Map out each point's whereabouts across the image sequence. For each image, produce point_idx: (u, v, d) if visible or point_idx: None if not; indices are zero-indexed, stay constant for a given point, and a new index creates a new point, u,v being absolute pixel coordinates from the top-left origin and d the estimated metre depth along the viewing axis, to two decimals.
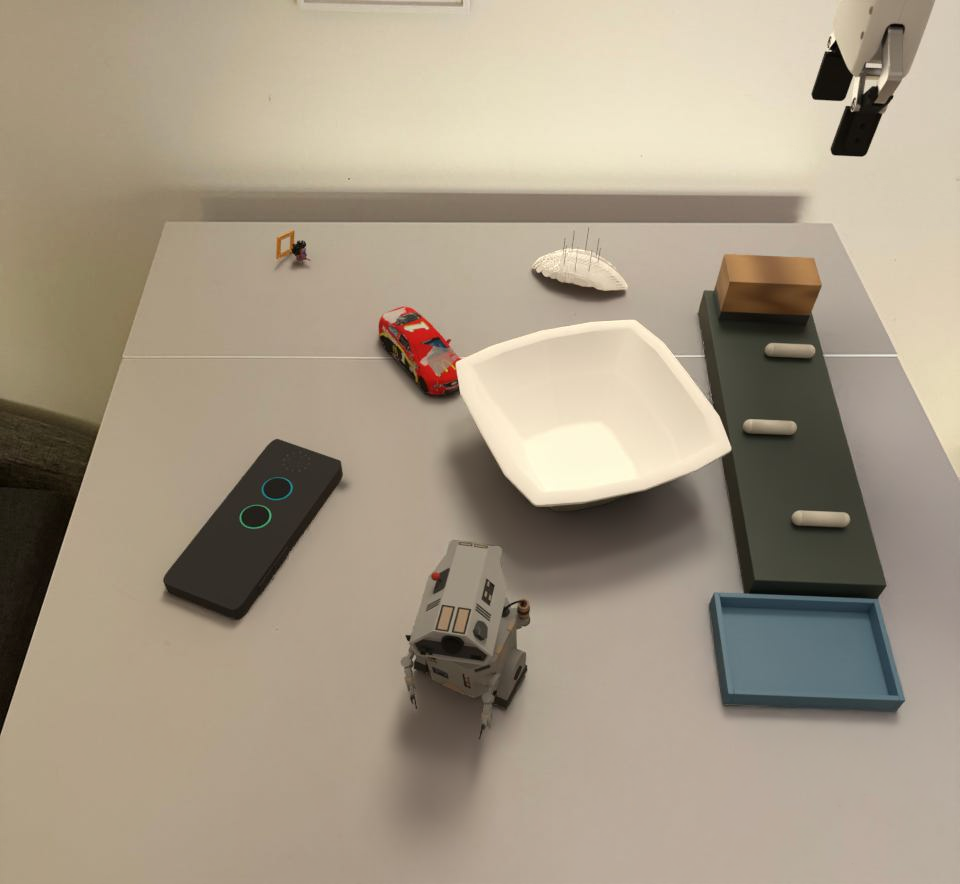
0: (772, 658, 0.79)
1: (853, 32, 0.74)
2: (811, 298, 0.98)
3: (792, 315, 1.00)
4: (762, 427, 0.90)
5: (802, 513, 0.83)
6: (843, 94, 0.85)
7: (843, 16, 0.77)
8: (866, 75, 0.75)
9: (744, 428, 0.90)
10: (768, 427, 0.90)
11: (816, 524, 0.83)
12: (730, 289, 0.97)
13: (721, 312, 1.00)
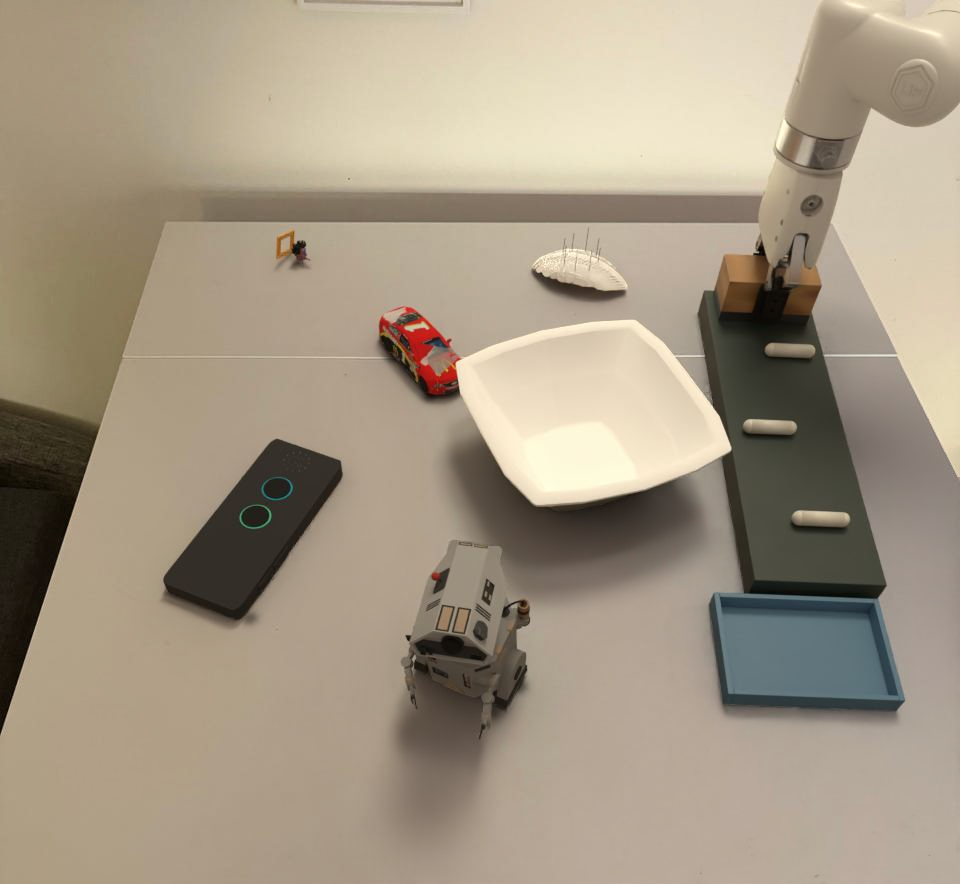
0: (772, 658, 0.79)
1: (770, 233, 0.92)
2: (811, 298, 0.98)
3: (792, 315, 1.00)
4: (762, 427, 0.90)
5: (802, 513, 0.83)
6: None
7: (764, 216, 0.94)
8: None
9: (744, 428, 0.90)
10: (768, 427, 0.90)
11: (816, 524, 0.83)
12: (730, 289, 0.97)
13: (721, 312, 1.00)
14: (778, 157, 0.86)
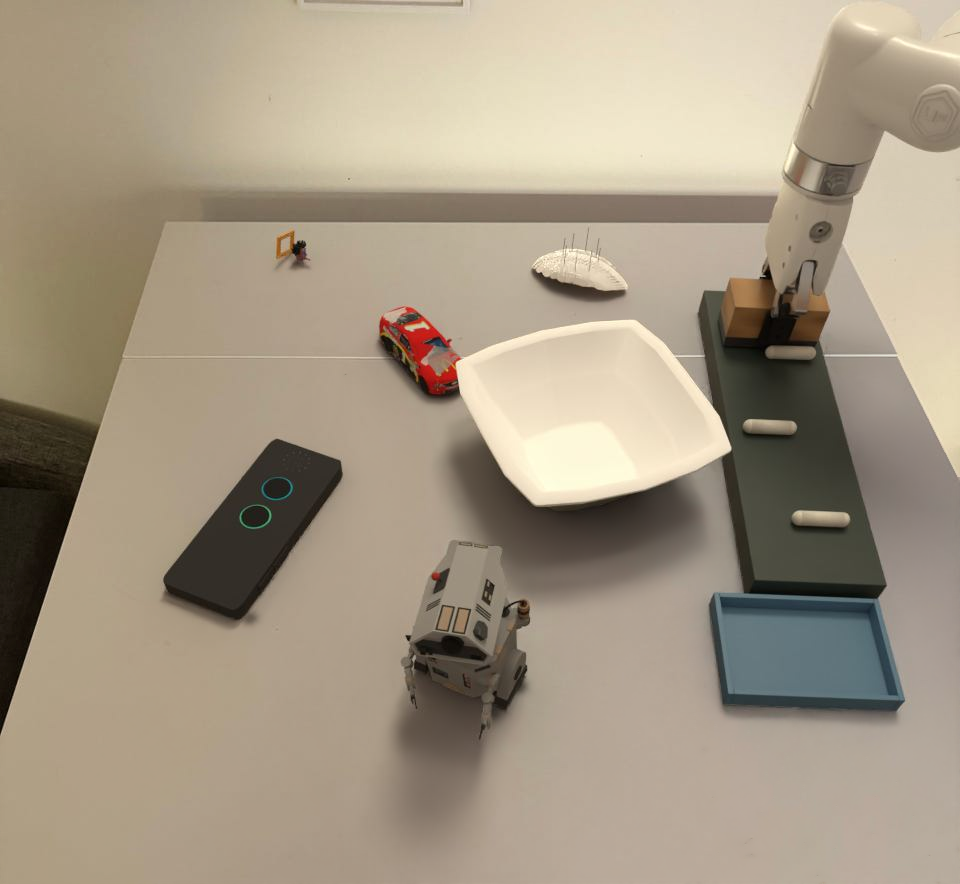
0: (772, 658, 0.79)
1: (777, 259, 0.89)
2: (819, 324, 0.95)
3: (799, 341, 0.97)
4: (762, 427, 0.90)
5: (802, 513, 0.83)
6: None
7: (771, 240, 0.91)
8: None
9: (744, 428, 0.90)
10: (768, 427, 0.90)
11: (816, 524, 0.83)
12: (736, 314, 0.94)
13: (726, 337, 0.97)
14: (787, 182, 0.83)
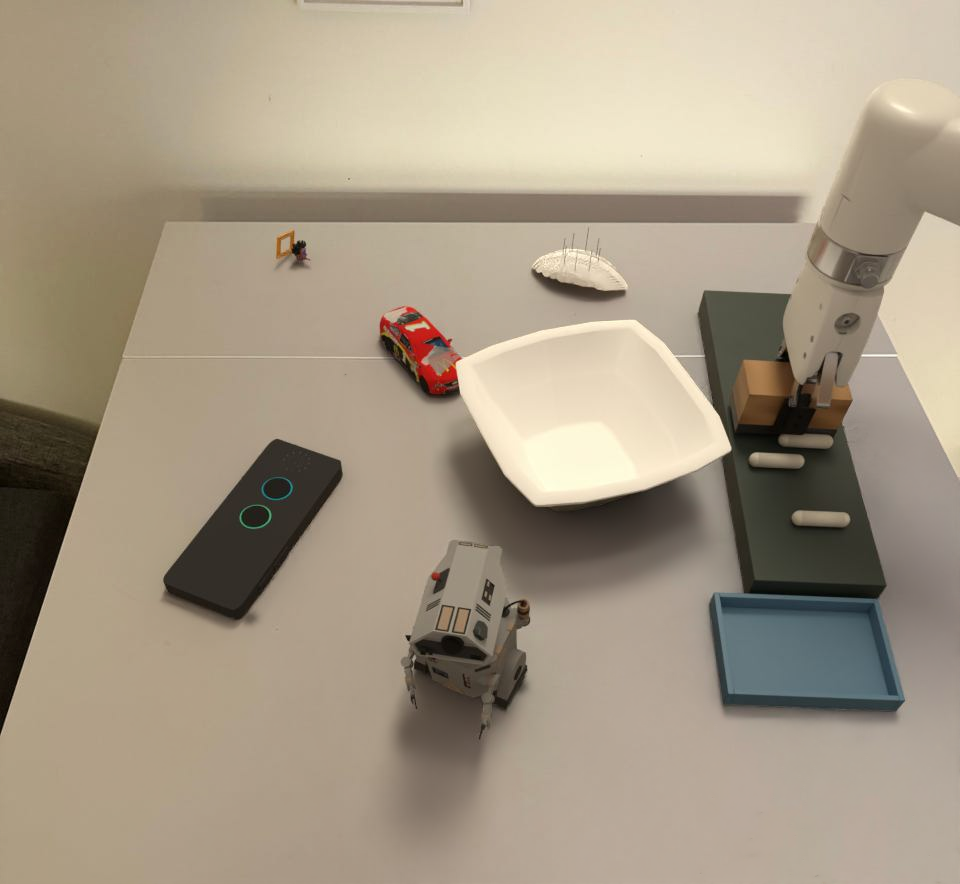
0: (772, 658, 0.79)
1: (797, 347, 0.81)
2: (840, 412, 0.87)
3: (818, 429, 0.89)
4: (768, 463, 0.87)
5: (802, 513, 0.83)
6: None
7: (790, 324, 0.83)
8: (804, 383, 0.83)
9: (750, 462, 0.88)
10: (774, 463, 0.87)
11: (816, 524, 0.83)
12: (750, 401, 0.86)
13: (738, 424, 0.89)
14: (810, 268, 0.76)
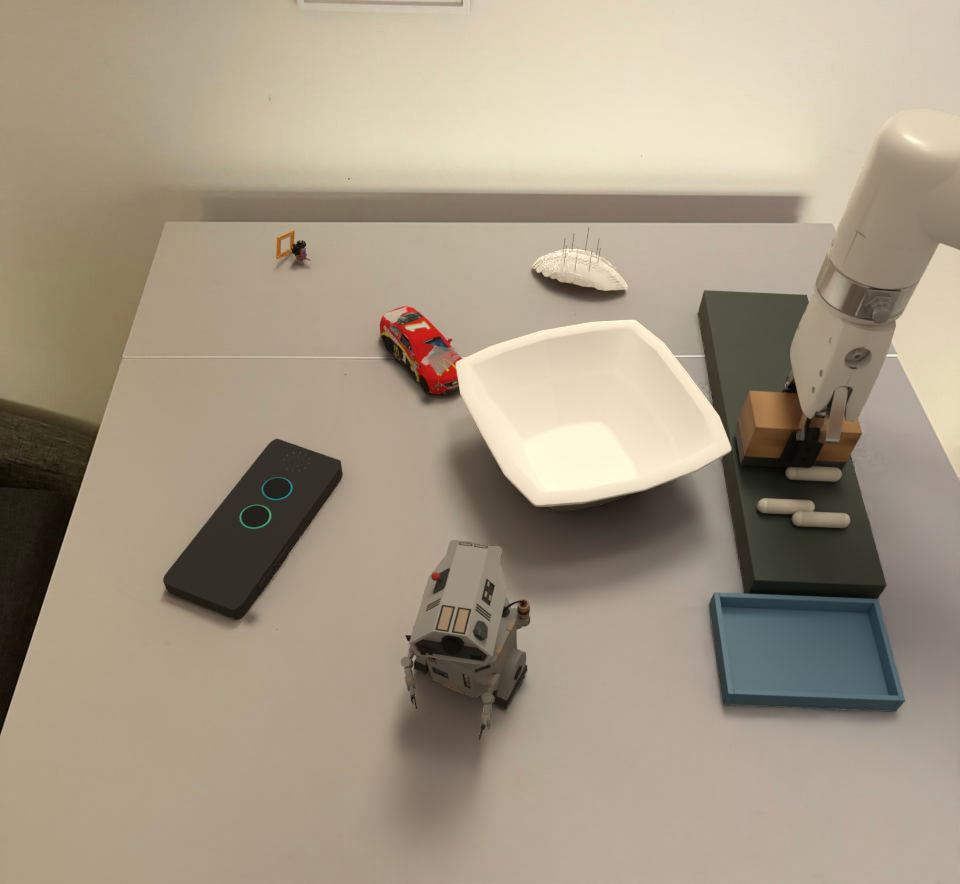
0: (772, 658, 0.79)
1: (806, 380, 0.79)
2: (849, 445, 0.85)
3: (826, 461, 0.87)
4: None
5: (802, 514, 0.83)
6: None
7: (798, 355, 0.81)
8: None
9: (757, 504, 0.85)
10: None
11: (816, 525, 0.83)
12: (756, 434, 0.84)
13: (744, 457, 0.86)
14: (820, 301, 0.73)
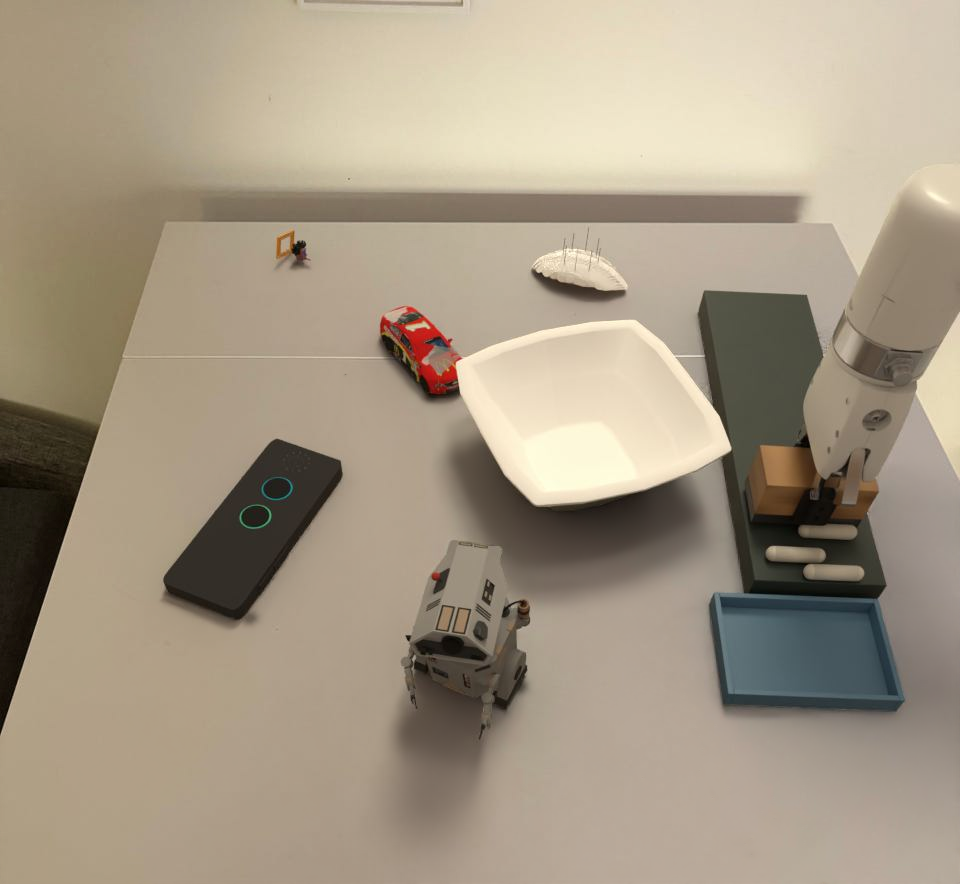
0: (772, 658, 0.79)
1: (820, 439, 0.75)
2: (865, 503, 0.81)
3: (840, 519, 0.83)
4: (785, 547, 0.81)
5: None
6: None
7: (812, 412, 0.77)
8: None
9: (767, 550, 0.81)
10: (792, 547, 0.81)
11: None
12: (767, 492, 0.80)
13: (755, 514, 0.82)
14: (836, 360, 0.69)
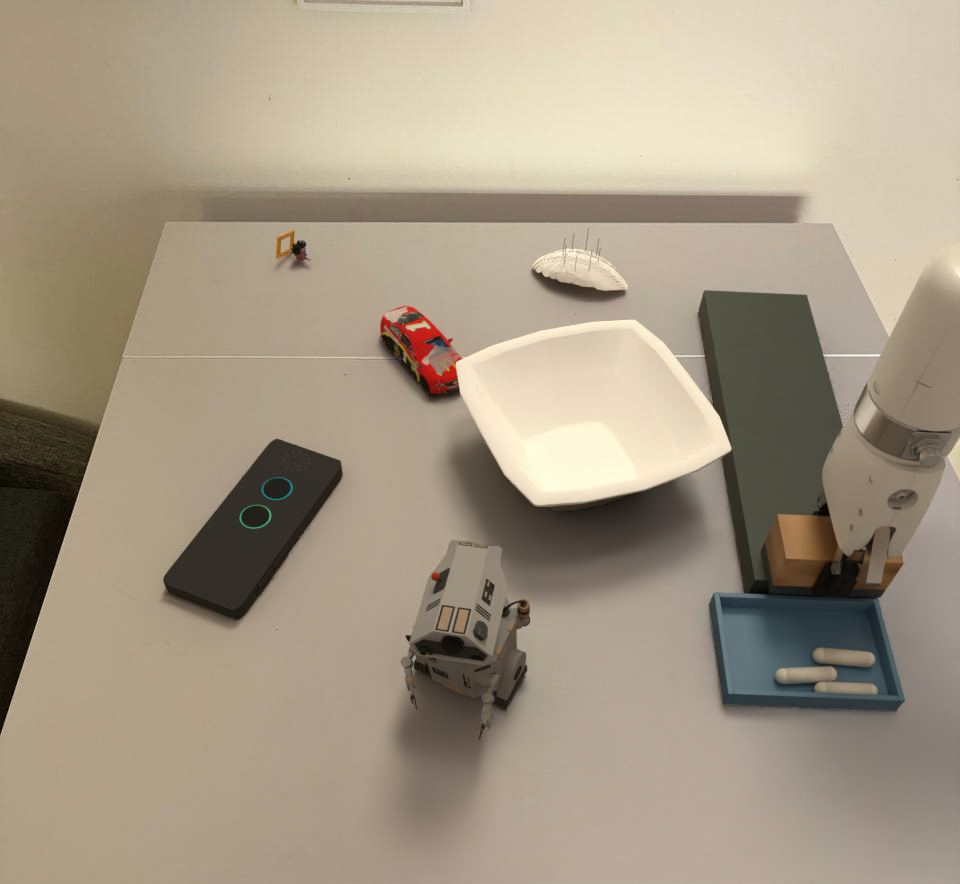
0: (772, 658, 0.79)
1: (842, 514, 0.71)
2: (889, 575, 0.77)
3: (863, 589, 0.79)
4: None
5: (825, 686, 0.76)
6: None
7: (832, 483, 0.73)
8: None
9: (775, 675, 0.77)
10: None
11: None
12: (786, 565, 0.76)
13: (773, 586, 0.79)
14: (858, 437, 0.65)
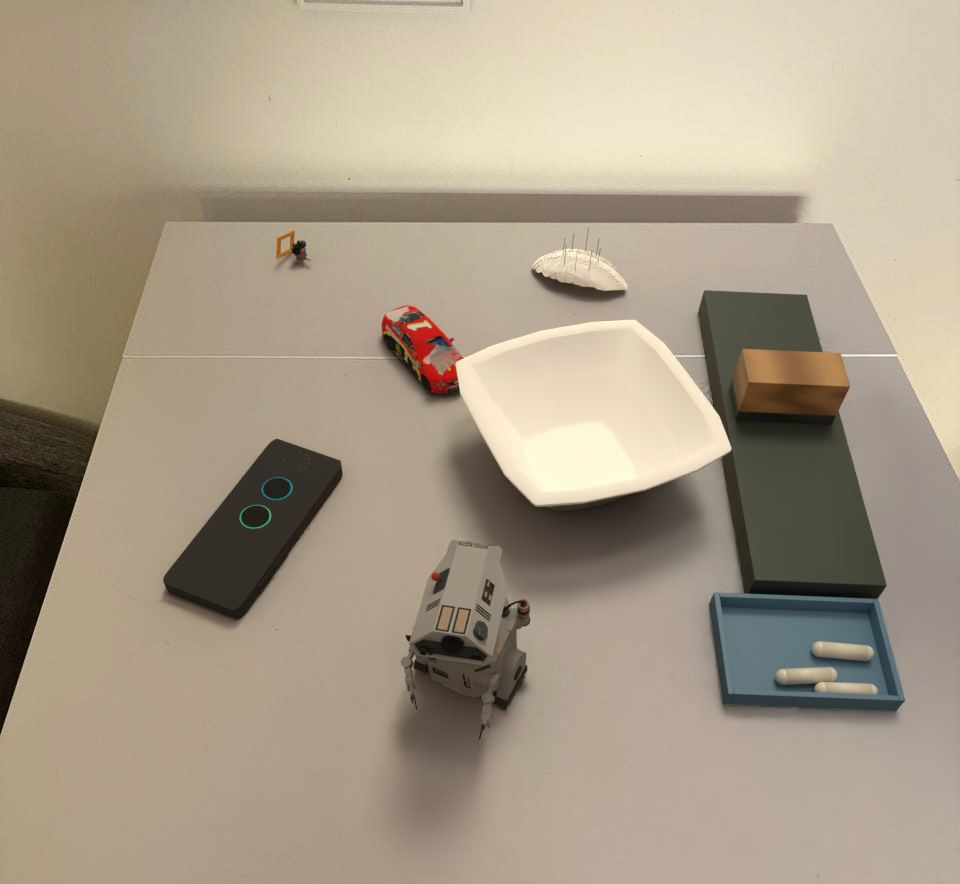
0: (772, 658, 0.79)
1: None
2: (838, 399, 0.89)
3: (816, 415, 0.91)
4: None
5: (825, 687, 0.76)
6: None
7: None
8: None
9: (775, 675, 0.77)
10: None
11: None
12: (749, 389, 0.88)
13: (739, 412, 0.91)
14: None
